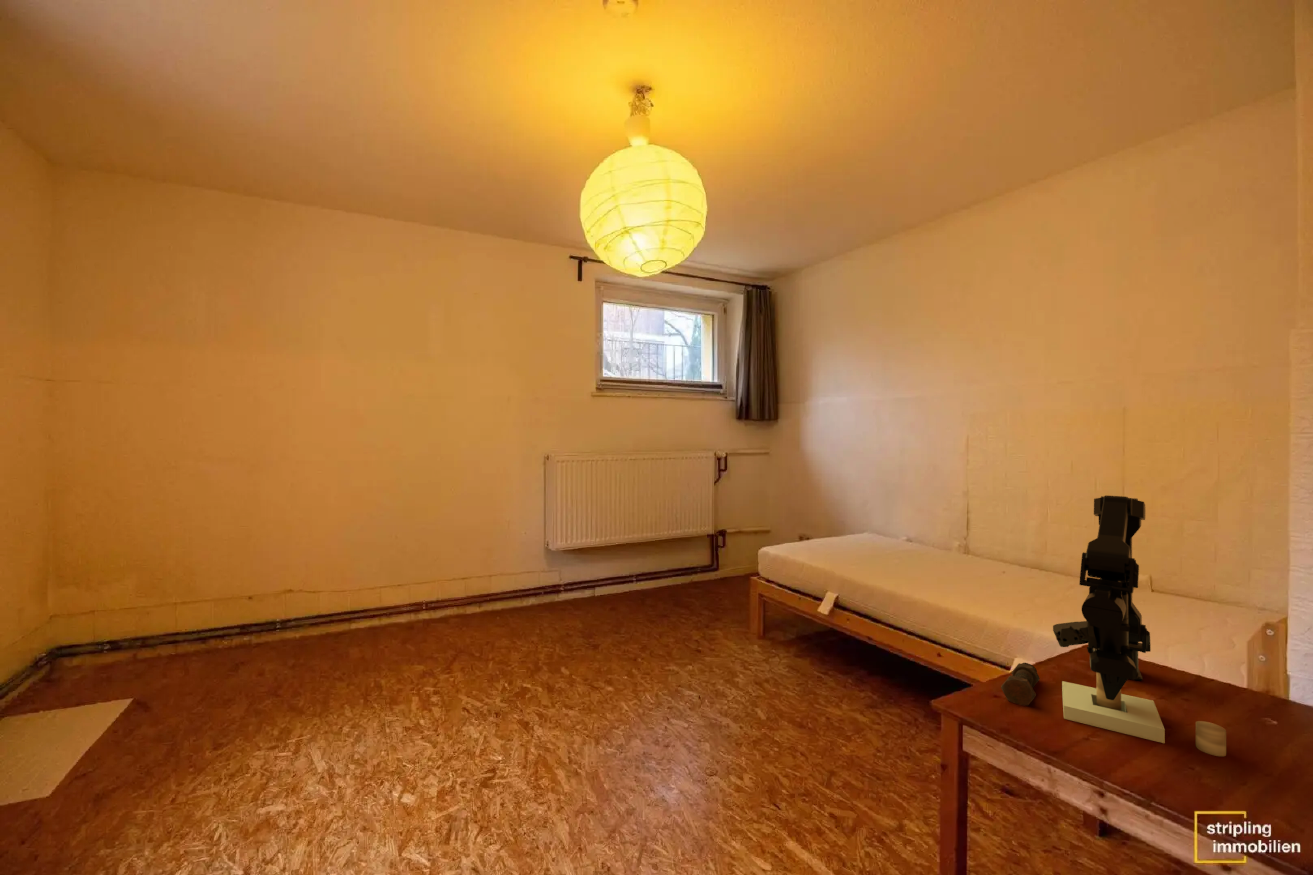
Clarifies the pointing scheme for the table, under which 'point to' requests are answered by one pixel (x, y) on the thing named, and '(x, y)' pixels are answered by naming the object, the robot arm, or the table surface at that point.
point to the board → (1113, 713)
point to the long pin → (1101, 696)
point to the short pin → (1210, 738)
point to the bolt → (1021, 684)
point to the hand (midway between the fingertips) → (1108, 695)
